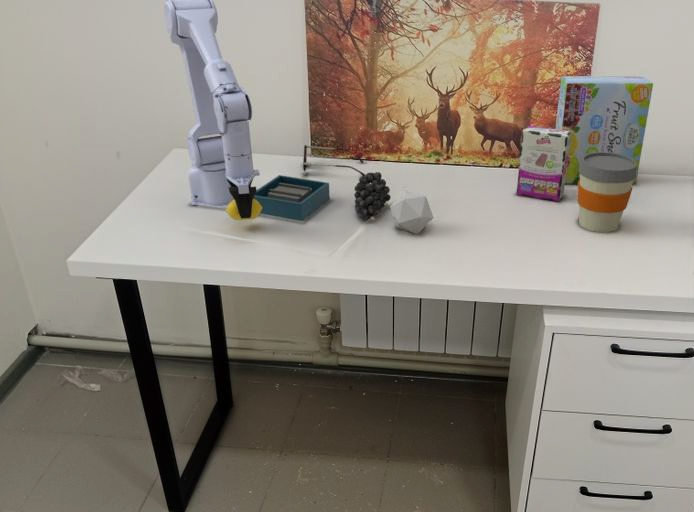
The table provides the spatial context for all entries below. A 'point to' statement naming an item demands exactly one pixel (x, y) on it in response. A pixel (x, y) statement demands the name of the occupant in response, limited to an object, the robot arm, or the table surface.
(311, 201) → the crate
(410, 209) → the die
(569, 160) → the snack box
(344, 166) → the sunglasses
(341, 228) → the table surface
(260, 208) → the lemon
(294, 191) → the grey block
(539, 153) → the candy bar box
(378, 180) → the fruit
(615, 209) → the reusable coffee cup
